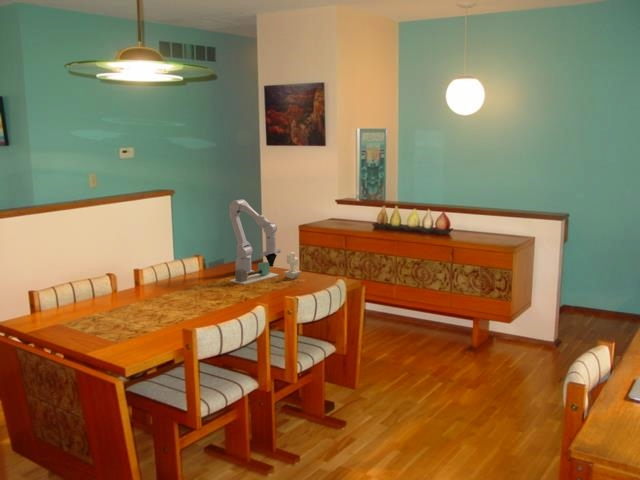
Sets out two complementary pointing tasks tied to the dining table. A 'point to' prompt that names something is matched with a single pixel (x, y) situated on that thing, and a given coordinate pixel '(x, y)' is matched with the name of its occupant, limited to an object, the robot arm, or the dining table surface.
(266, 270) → the sleeve
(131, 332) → the dining table surface
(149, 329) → the dining table surface
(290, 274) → the figurine
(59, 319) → the dining table surface
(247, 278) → the rod stand
